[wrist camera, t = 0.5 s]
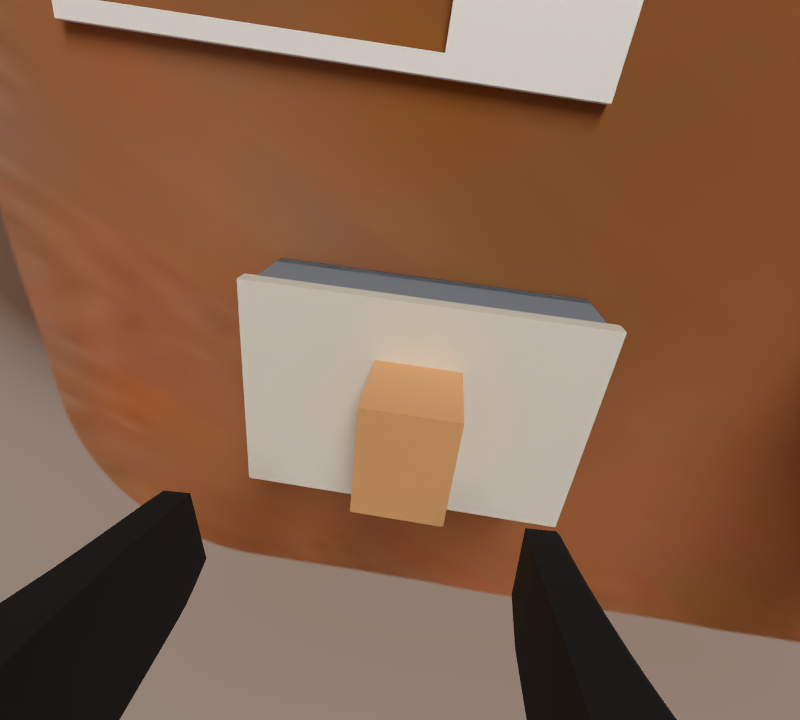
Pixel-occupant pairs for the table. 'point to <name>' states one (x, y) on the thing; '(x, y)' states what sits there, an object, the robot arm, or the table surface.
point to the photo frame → (462, 61)
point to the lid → (418, 399)
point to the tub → (434, 289)
